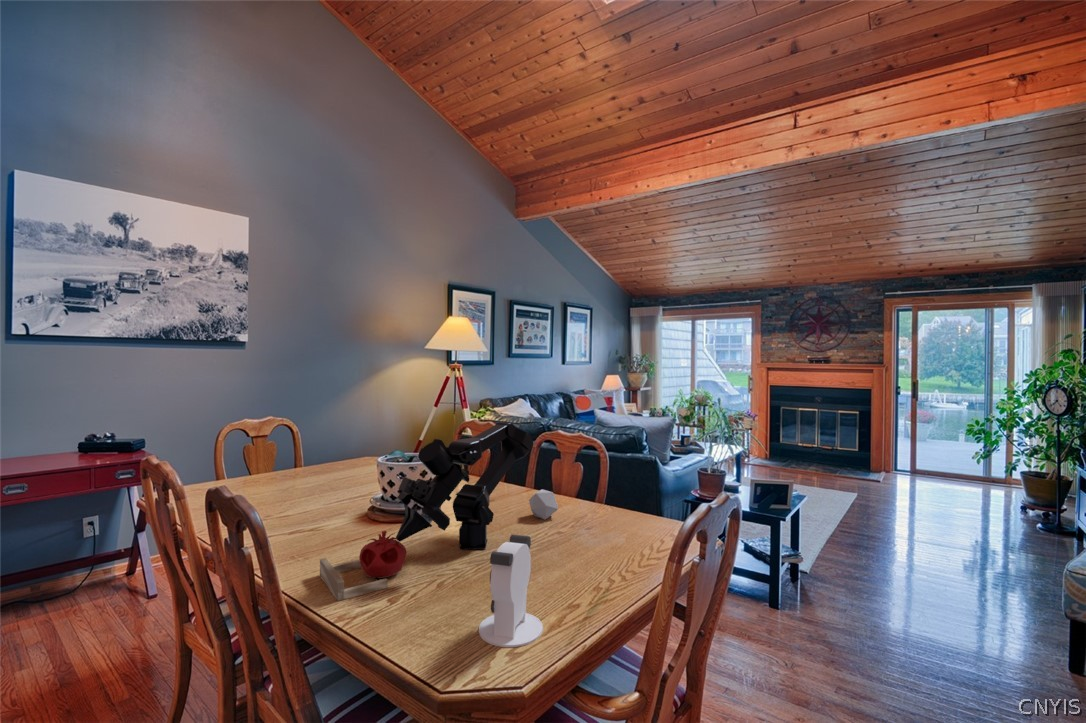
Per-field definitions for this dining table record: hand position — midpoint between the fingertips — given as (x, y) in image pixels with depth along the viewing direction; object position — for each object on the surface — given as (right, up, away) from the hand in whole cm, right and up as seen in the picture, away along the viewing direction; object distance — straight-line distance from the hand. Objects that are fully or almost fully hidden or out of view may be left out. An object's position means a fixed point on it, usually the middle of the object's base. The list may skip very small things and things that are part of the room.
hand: (397, 540), depth 112 cm
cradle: (-8, -7, -6) cm, 12 cm away
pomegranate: (-2, -7, -2) cm, 7 cm away
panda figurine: (+28, -7, -25) cm, 38 cm away
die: (+33, -8, +41) cm, 53 cm away
